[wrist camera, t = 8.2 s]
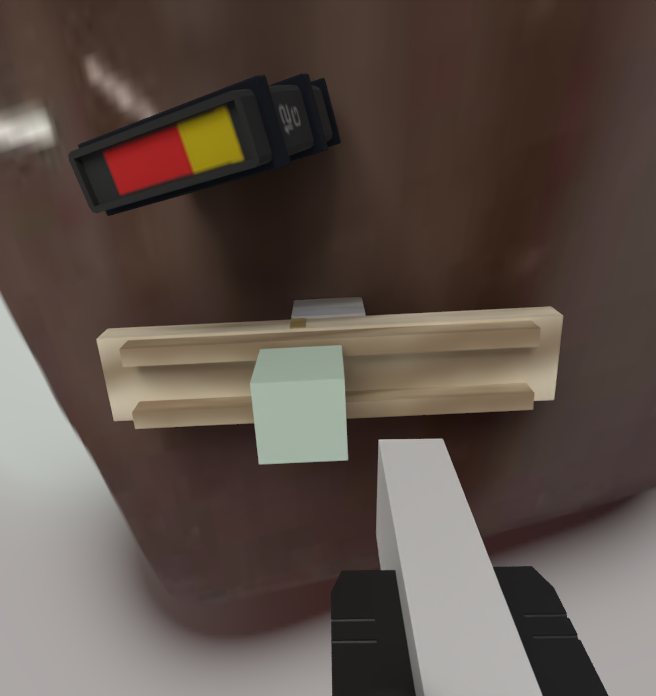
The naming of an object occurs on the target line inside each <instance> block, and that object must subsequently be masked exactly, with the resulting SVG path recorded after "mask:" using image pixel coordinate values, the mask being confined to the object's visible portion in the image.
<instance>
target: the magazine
mask: <svg viewBox="0 0 656 696" xmlns="http://www.w3.org/2000/svg"><path fill="white" fill-rule="evenodd" d="M340 143H341V140H340V136H339V132H338V129H337V125H336V121H335V117H334V113H333V109H332V105H331V101H330V97H329V94H328V90H327V86H326V82H325V79H324V78H321V79H318V80H315V81H312V82H310V78H309V75H308V74H300V75H297V76H294V77H291V78H289V79H286V80H283V81H280V82H277V83H275V84H272V85H269V86H268V83H267V79H266V76H265V75H260V76H254V77H252V78H249V79H246V80H244V81H241V82H239V83H236V84H234V85H231V86H228V87H226V88H223V89H221V90H218V91H215V92H213V93H210V94H208V95H205V96H202V97H200V98H197V99H195V100H192V101H190V102H187V103H184V104H182V105H179V106H177V107H174V108H171V109H169V110H166V111H164V112H161V113H159V114H156V115H153V116H151V117H148V118H146V119H143V120H140V121H138V122H135V123H133V124H130V125H128V126H125V127H122V128H120V129H117V130H115V131H112V132H109V133H107V134H104V135H102V136H99V137H97V138H94V139H91V140H89V141H86V142H84V143H81V144H79V145H78V147H79V149H77V150H74V151H72V152H70V154H69V161H70V163H71V165H72V168H73V170H74V172H75V175H76V177H77V179H78V182H79V184H80V186H81V189H82V191H83V193H84V196H85V198H86V200H87V203H88V205H89V207H90V209H91V210H92V211H93V212H95V213H98V212H102V211H106V214H107V215H108V216H110V215H113V214H117V213H121V212H124V211H128V210H131V209H135V208H138V207H142V206H146V205H149V204H153V203H156V202H160V201H163V200H167V199H171V198H174V197H178V196H181V195H185V194H188V193H192V192H196V191H199V190H203V189H206V188H210V187H213V186H217V185H221V184H224V183H228V182H231V181H235V180H238V179H242V178H246V177H249V176H253V175H256V174H260V173H263V172H267V171H271V170H274V169H278V168H281V167H284V166H287V165H290V164H291V161H292V160H296V159H299V158H303V157H306V156H309V155H313V154H316V153H320V152H323V151H326V150H328V147H330V146H333V145H337V144H340Z"/></svg>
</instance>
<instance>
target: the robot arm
mask: <svg viewBox="0 0 656 696" xmlns="http://www.w3.org/2000/svg"><path fill="white" fill-rule="evenodd" d="M376 537H377V545H378V552H379V560H380V568H381V570H360V571H341V573H340V575H339V577H338V579H337V581H336V584H335V586H334V587H333V589H332V591H331V637H332V640H331V641H332V642H331V643H332V696H608V694H607V692H606V690H605V688H604V686H603V684H602V682H601V680H600V678H599V676H598V674H597V672H596V671H595V668H594V666H593V664H592V662H591V660H590V658H589V656H588V655H587V652H586V651H585V648H584V646H583V644H582V642H581V641H580V640H578V637H577V633H576V631H575V629H574V627H573V625H572V623H571V621H570V619H569V618H567V615H566V614H567V613H566V611H565V609H564V607H563V605H562V603H561V601H560V599H559V597H558V595H557V593H556V591H555V589H554V588H553V586H552V585H550V583H549V582H547V581H546V580H545V579H544V578H543V577H542V576H541V575H540V574H539V573H538V572H537V571H536V570H535V569H534V568H533V567H532V566H521V567H492V565H491V562H490V559H489V557H488V554H487V552H486V549H485V546H484V544H483V541H482V539H481V536H480V534H479V531H478V528H477V526H476V523H475V521H474V518H473V515H472V513H471V510H470V508H469V505H468V503H467V500H466V497H465V495H464V492H463V490H462V487H461V485H460V482H459V479H458V477H457V474H456V472H455V469H454V467H453V464H452V461H451V459H450V456H449V454H448V451H447V449H446V446H445V443H444V441H443V439H383V440H379V443H378V481H377V519H376Z"/></svg>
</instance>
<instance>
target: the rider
mask: <svg viewBox="0 0 656 696" xmlns="http://www.w3.org/2000/svg"><path fill="white" fill-rule="evenodd" d="M250 388H251V397H252V406H253V415H254V424H255V433H256V442H257V451H258V460H259V464H278V463H299V462H320V461H342V460H348V448H347V425H346V402H345V379H344V367H343V355H342V345H333V346H313V347H293V348H272V349H260V351H259V354H258V358H257V361H256V365H255V368H254V371H253V375H252V378H251V381H250Z"/></svg>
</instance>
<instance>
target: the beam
mask: <svg viewBox="0 0 656 696" xmlns="http://www.w3.org/2000/svg"><path fill="white" fill-rule="evenodd" d="M562 322H563V315H562V314H560V313H559V312H558V311H556V310H555V309H554V308H552V307H532V308H512V309H492V310H472V311H452V312H432V313H412V314H392V315H372V316H365V310H364V305H363V301H362V297H347V298H327V299H307V300H294V304H293V310H292V315H291V320H272V321H253V322H233V323H213V324H193V325H173V326H153V327H133V328H113V329H107V330H106V331H105V332H104V333H102V334H101V335H100V336H99V337H98V338H97V344H98V349H99V353H100V358H101V363H102V368H103V372H104V377H105V382H106V386H107V391H108V396H109V400H110V405H111V410H112V414H113V419H114V421H128V420H133V421H134V426H135V429H141V428H162V427H183V426H204V425H225V424H246V423H254V415H253V406H252V397H251V388H250V381H251V378H252V375H253V371H254V368H255V365H256V361H257V358H258V354H259V351H260V349H272V348H293V347H313V346H333V345H342V355H343V367H344V379H345V402H346V419H350V418H370V417H391V416H412V415H433V414H454V413H475V412H495V411H516V410H533V405H534V401H543V400H554V396H555V387H556V378H557V368H558V359H559V350H560V340H561V331H562Z"/></svg>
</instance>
